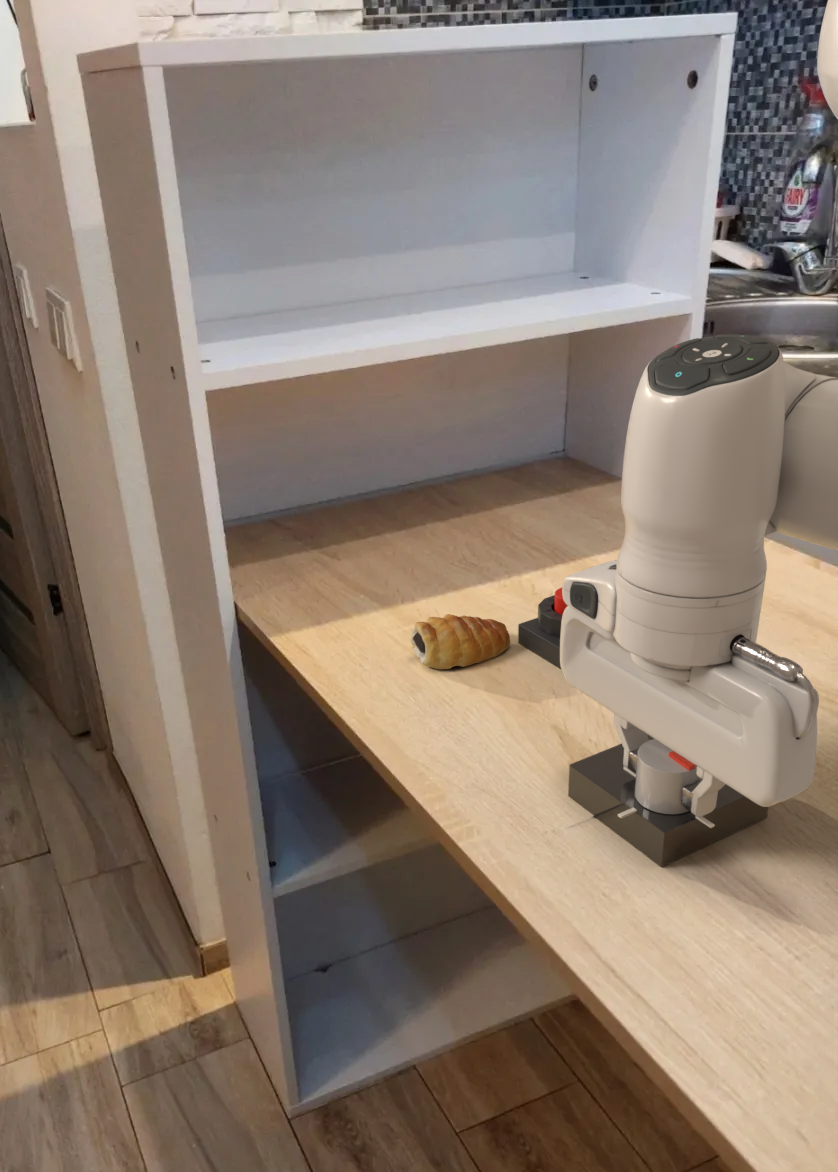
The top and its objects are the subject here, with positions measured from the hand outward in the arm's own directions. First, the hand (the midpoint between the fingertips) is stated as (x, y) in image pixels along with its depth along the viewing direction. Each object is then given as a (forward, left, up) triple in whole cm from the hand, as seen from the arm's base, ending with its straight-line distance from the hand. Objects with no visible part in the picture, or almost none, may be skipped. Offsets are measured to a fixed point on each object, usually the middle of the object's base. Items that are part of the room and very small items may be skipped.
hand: (666, 788), depth 72 cm
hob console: (-2, -2, -4) cm, 5 cm away
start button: (-13, -26, 0) cm, 29 cm away
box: (-13, -24, -4) cm, 27 cm away
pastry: (-3, -31, -4) cm, 32 cm away
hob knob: (0, 0, -1) cm, 1 cm away
